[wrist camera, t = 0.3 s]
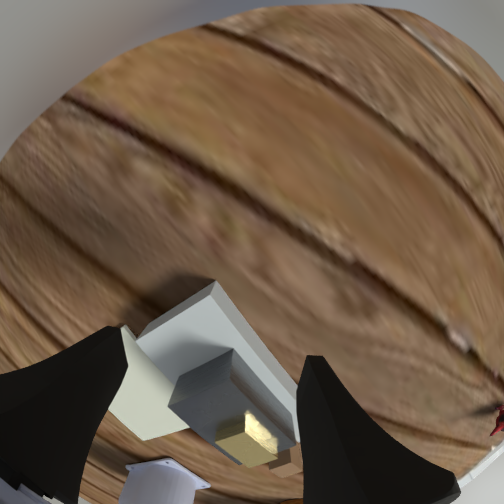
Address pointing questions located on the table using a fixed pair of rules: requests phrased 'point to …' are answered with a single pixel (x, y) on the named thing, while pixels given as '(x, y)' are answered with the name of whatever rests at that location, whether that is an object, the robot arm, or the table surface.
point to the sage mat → (144, 395)
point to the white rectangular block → (219, 352)
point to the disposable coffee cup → (293, 501)
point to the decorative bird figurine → (499, 421)
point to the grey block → (233, 410)
